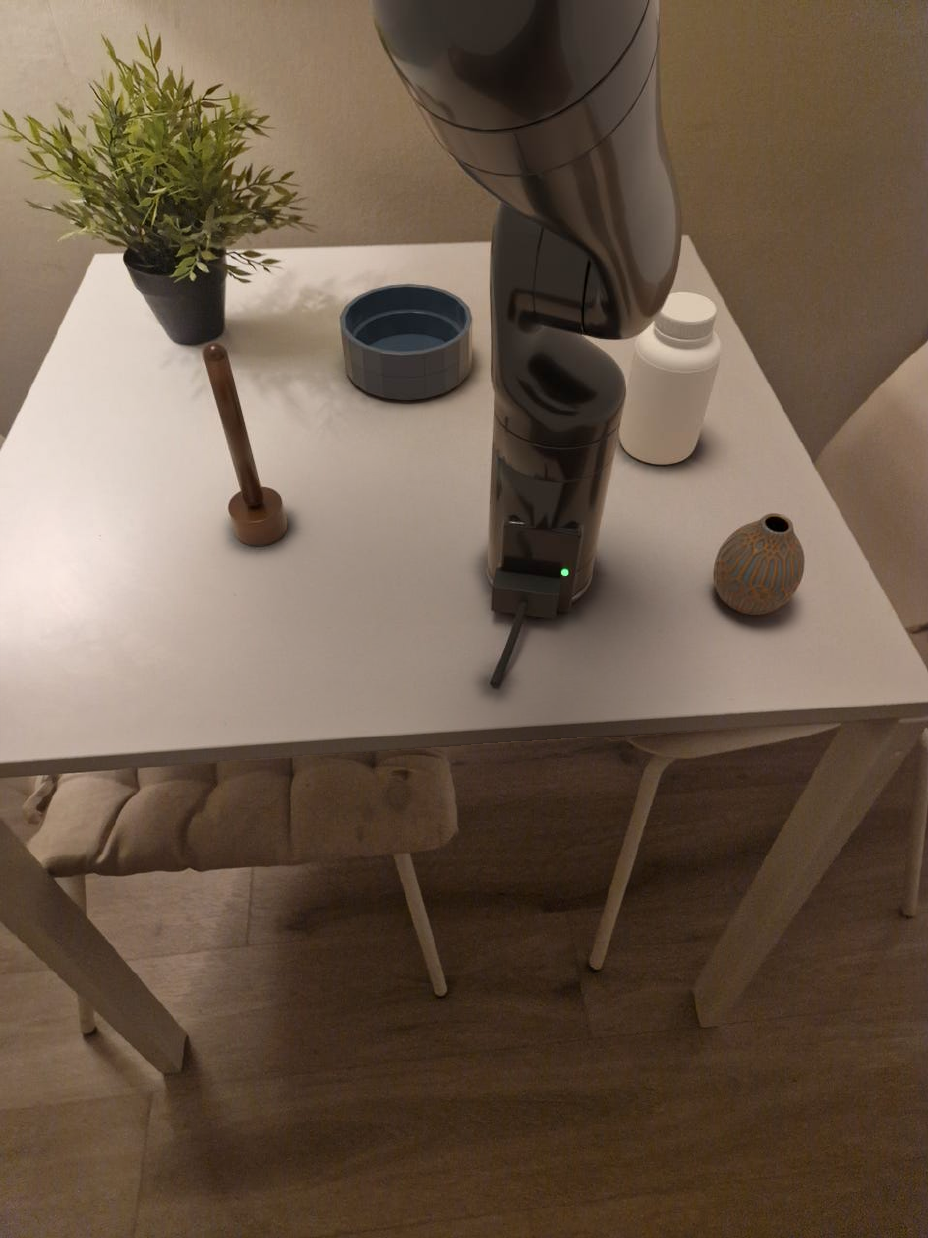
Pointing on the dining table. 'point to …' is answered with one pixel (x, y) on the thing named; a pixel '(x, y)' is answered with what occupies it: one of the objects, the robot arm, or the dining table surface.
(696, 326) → the pill bottle
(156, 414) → the dining table surface
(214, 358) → the wooden peg stand
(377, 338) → the bowl
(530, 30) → the robot arm
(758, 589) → the vase
